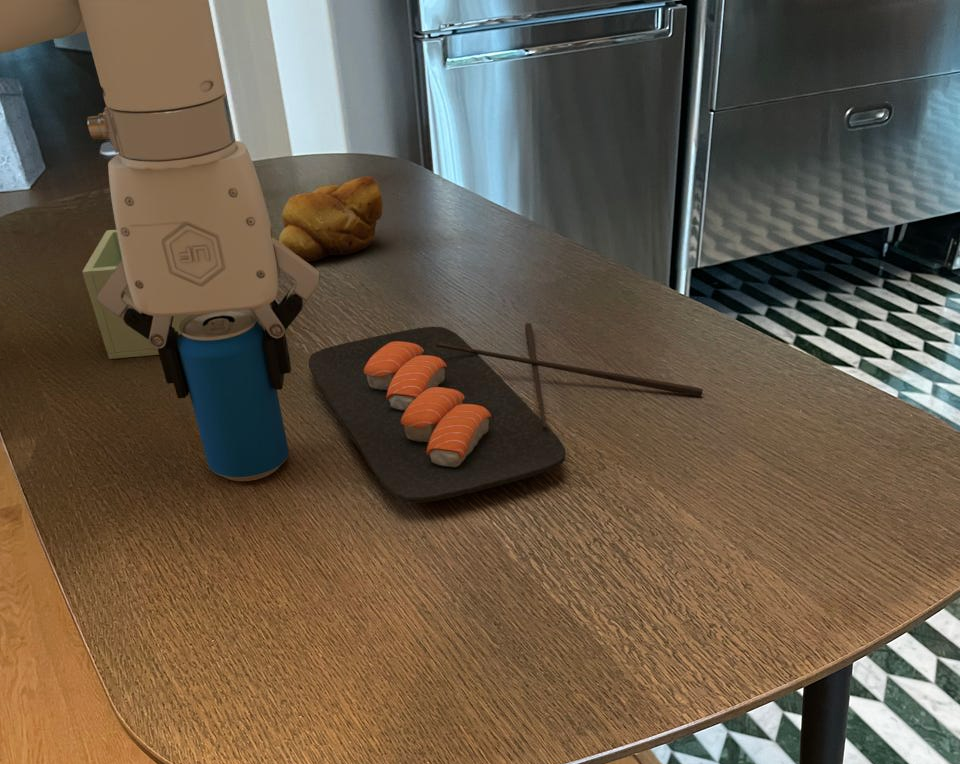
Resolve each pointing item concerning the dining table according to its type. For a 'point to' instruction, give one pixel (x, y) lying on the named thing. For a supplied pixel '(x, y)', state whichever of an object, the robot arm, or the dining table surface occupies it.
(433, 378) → the sushi plate
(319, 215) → the bread roll
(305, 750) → the dining table surface
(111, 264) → the trash bin
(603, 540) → the dining table surface
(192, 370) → the beverage can
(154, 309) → the robot arm
